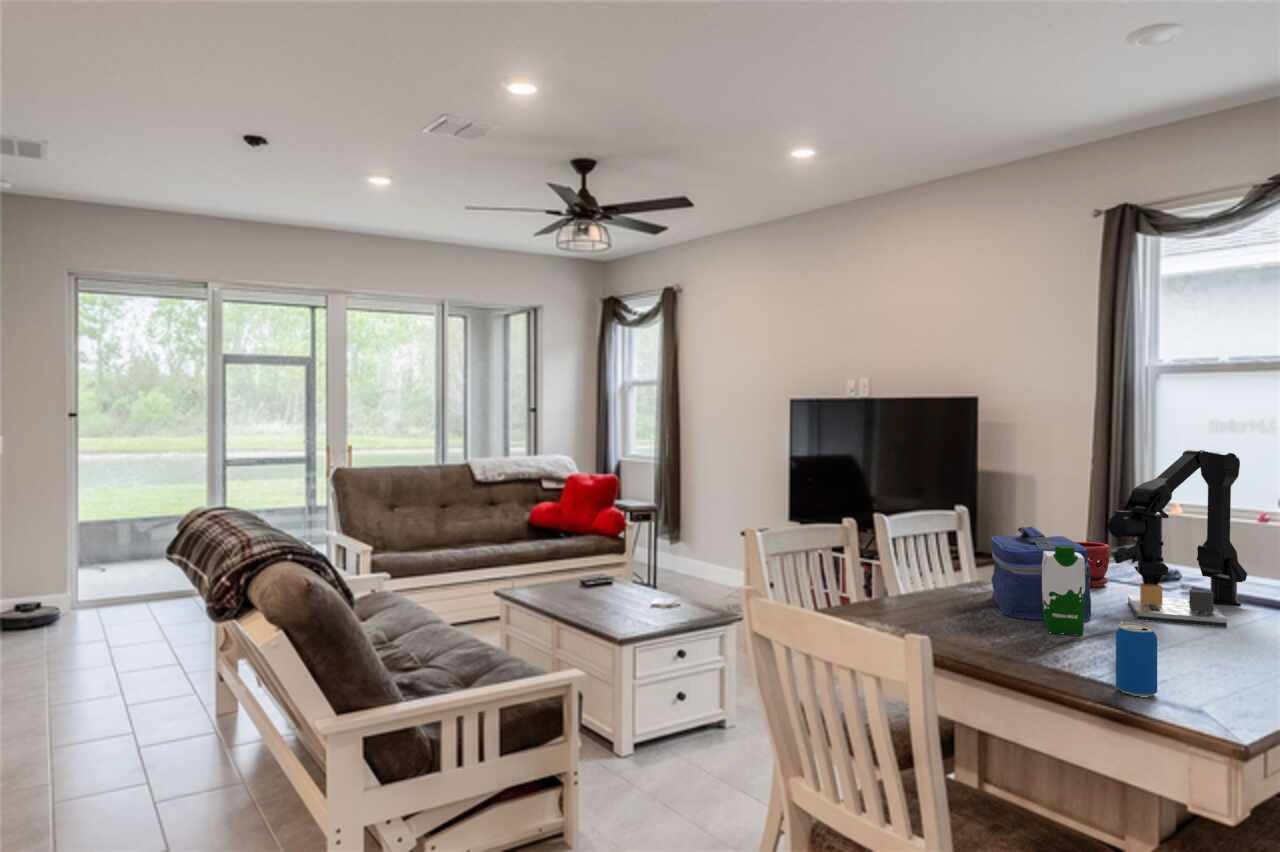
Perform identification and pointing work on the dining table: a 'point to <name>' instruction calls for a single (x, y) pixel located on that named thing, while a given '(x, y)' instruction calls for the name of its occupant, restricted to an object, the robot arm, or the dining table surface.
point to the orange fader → (1151, 594)
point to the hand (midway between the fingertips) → (1148, 596)
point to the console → (1175, 612)
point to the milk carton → (1063, 590)
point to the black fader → (1201, 601)
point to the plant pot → (1097, 568)
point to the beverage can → (1136, 659)
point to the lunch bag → (1027, 572)
